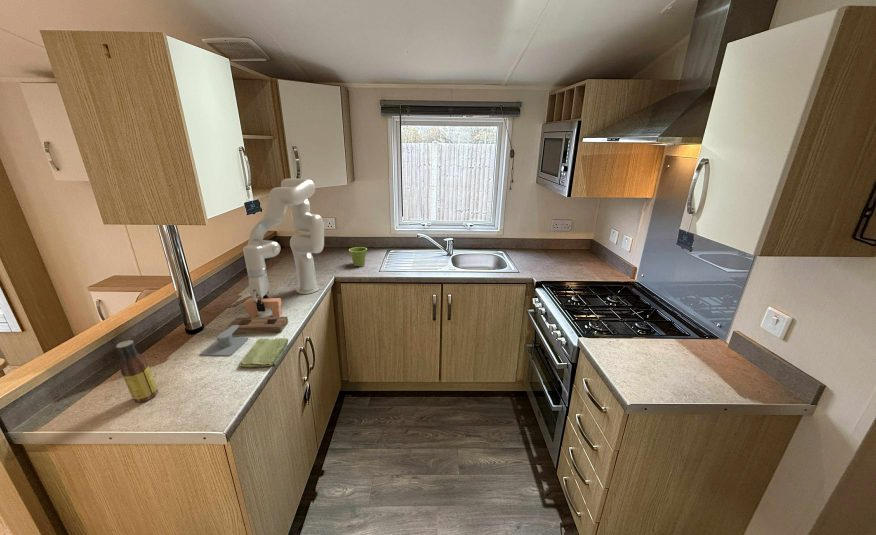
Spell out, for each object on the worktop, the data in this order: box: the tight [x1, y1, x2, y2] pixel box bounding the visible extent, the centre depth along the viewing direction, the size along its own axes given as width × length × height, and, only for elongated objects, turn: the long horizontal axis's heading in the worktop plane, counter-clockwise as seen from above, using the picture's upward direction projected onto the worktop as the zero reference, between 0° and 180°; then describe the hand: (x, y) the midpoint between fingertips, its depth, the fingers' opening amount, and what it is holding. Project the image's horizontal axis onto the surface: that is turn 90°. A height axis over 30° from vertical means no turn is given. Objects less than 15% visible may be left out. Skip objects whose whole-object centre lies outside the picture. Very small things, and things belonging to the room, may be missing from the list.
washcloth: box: [238, 337, 289, 369], centre depth 127 cm, size 13×18×3 cm
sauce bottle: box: [115, 339, 159, 403], centre depth 103 cm, size 7×6×20 cm
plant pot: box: [348, 246, 368, 267], centre depth 224 cm, size 12×12×11 cm
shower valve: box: [200, 325, 249, 357], centre depth 134 cm, size 12×6×15 cm
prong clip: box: [243, 297, 283, 318], centre depth 156 cm, size 4×15×8 cm, turn 94°
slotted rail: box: [225, 316, 289, 335], centre depth 146 cm, size 9×22×3 cm, turn 94°
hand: (264, 308), depth 156 cm, fingers open, 5 cm apart
